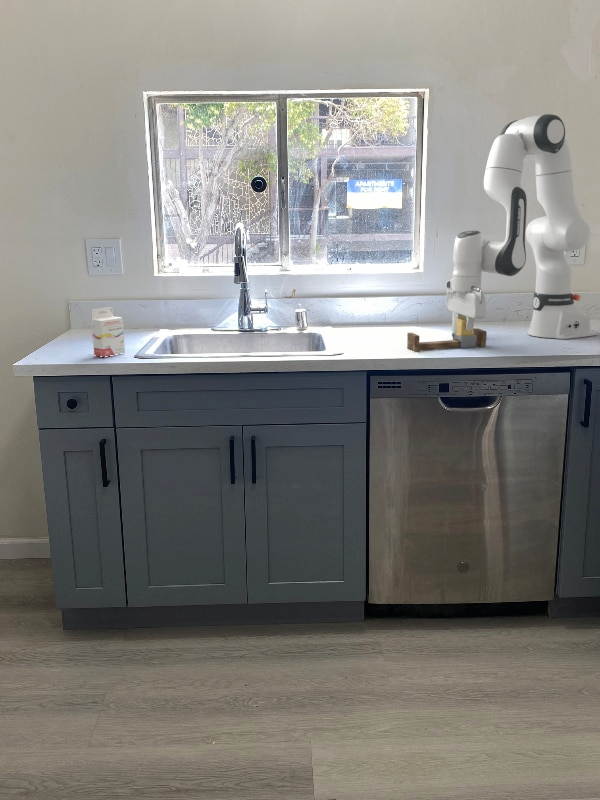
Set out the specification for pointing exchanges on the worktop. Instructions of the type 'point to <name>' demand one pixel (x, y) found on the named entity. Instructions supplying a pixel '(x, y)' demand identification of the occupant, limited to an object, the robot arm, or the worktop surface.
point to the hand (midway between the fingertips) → (464, 329)
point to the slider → (464, 334)
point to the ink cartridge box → (107, 333)
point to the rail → (442, 342)
